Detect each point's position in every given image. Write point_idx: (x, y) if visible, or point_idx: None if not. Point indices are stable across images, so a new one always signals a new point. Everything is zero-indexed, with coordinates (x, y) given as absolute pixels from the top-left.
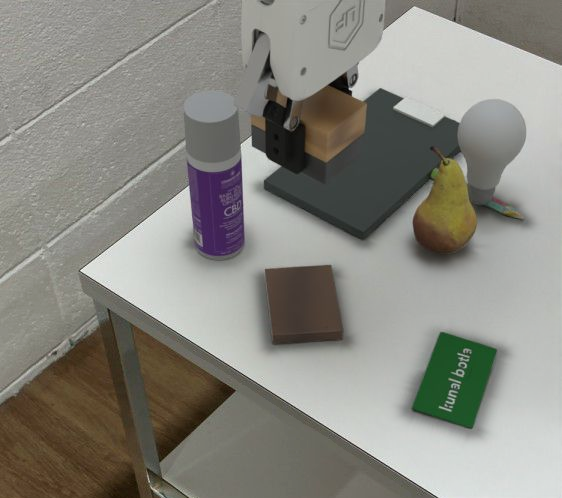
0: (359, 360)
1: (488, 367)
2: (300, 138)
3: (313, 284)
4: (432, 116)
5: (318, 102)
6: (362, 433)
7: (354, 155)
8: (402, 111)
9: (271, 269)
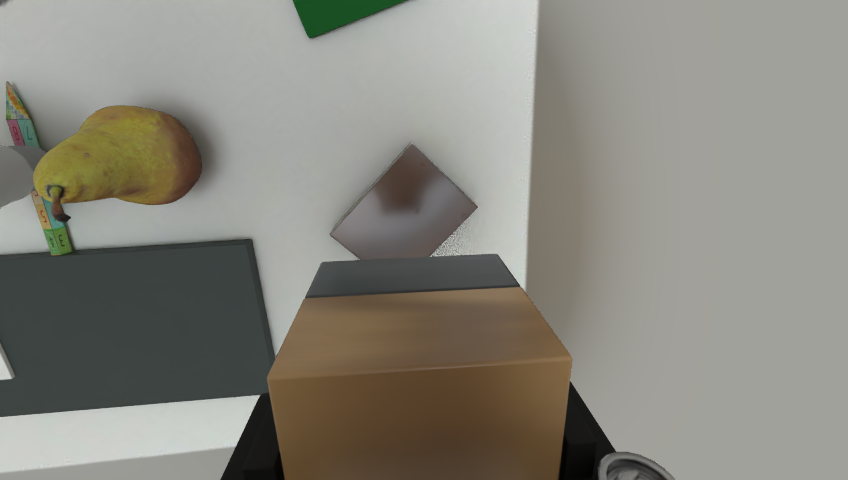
0: (423, 101)
1: None
2: (576, 409)
3: (374, 227)
4: None
5: None
6: (519, 17)
7: (363, 268)
8: (5, 364)
9: None
